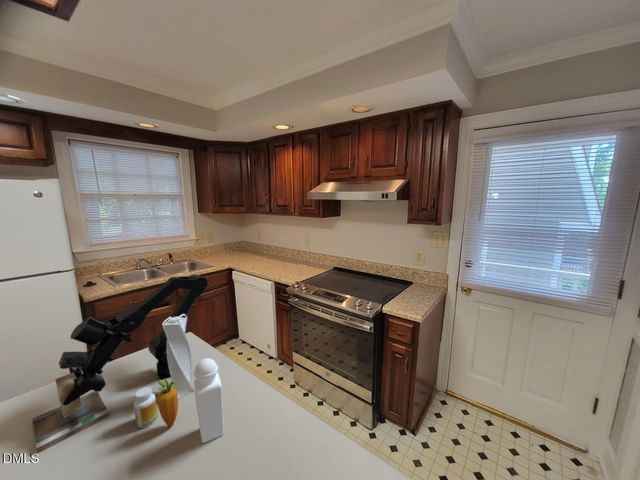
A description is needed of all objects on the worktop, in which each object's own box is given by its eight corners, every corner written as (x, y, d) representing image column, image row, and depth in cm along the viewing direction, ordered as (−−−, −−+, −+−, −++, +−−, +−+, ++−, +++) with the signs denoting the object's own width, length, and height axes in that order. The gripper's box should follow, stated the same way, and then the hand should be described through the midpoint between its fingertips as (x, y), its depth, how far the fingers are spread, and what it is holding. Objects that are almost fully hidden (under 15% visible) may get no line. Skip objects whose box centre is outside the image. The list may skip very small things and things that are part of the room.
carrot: (184, 421, 78) (179, 375, 75) (170, 436, 73) (164, 387, 71) (171, 417, 79) (166, 372, 77) (156, 431, 75) (150, 383, 72)
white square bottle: (200, 446, 70) (192, 370, 67) (198, 427, 76) (191, 357, 72) (226, 435, 73) (219, 362, 70) (222, 418, 79) (216, 350, 75)
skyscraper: (199, 391, 90) (191, 313, 86) (176, 403, 85) (166, 321, 80) (190, 380, 96) (182, 307, 91) (167, 391, 90) (157, 314, 86)
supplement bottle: (162, 414, 81) (158, 385, 79) (149, 429, 76) (145, 399, 74) (145, 413, 81) (141, 384, 80) (132, 428, 76) (127, 398, 75)
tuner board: (97, 394, 90) (96, 388, 90) (109, 416, 80) (108, 410, 80) (33, 423, 78) (31, 416, 78) (37, 453, 69) (36, 446, 69)
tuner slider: (83, 401, 84) (76, 367, 82) (90, 419, 77) (84, 383, 75) (56, 413, 80) (49, 378, 78) (62, 434, 72) (54, 396, 71)
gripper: (72, 331, 85) (28, 380, 78) (84, 351, 73) (33, 412, 66) (106, 343, 92) (69, 389, 86) (122, 363, 80) (80, 419, 74)
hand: (63, 401), depth 78 cm, fingers closed on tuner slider, 4 cm apart
